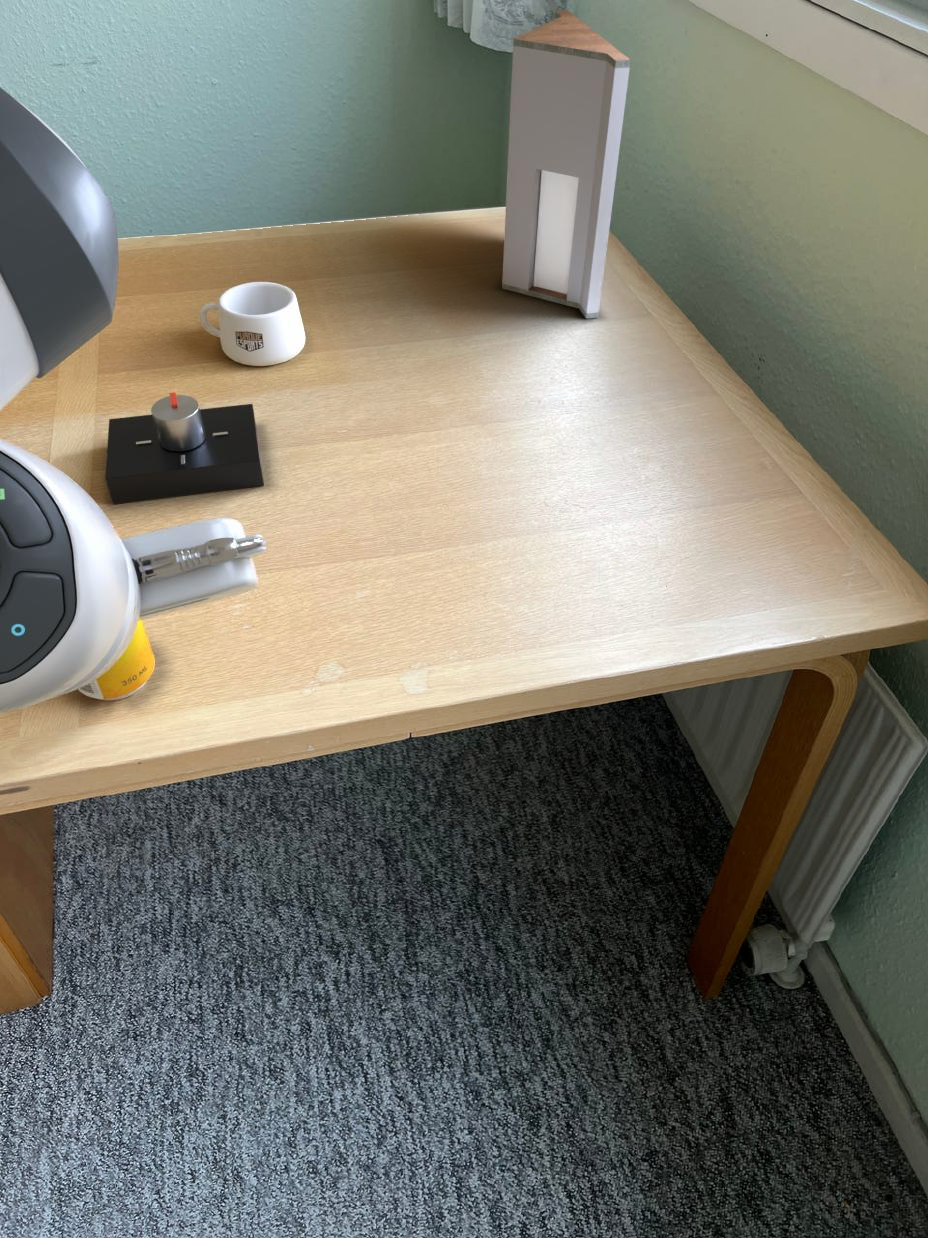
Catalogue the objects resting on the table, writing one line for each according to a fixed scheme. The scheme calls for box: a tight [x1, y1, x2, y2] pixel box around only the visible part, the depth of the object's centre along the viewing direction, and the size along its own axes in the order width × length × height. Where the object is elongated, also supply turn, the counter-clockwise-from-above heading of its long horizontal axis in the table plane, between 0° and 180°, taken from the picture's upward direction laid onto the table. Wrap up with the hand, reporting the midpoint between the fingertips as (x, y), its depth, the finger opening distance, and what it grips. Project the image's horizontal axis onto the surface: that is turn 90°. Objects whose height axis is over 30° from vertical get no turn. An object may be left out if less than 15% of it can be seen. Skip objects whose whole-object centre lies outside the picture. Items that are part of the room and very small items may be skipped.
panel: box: [104, 403, 265, 505], centre depth 90 cm, size 14×10×3 cm
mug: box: [199, 281, 306, 367], centre depth 105 cm, size 12×10×6 cm
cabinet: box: [501, 9, 631, 319], centre depth 110 cm, size 21×10×28 cm, turn 13°
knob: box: [150, 391, 206, 452], centre depth 87 cm, size 4×4×4 cm
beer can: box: [77, 620, 156, 701], centre depth 66 cm, size 6×6×15 cm
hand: (69, 609), depth 52 cm, fingers open, 8 cm apart
